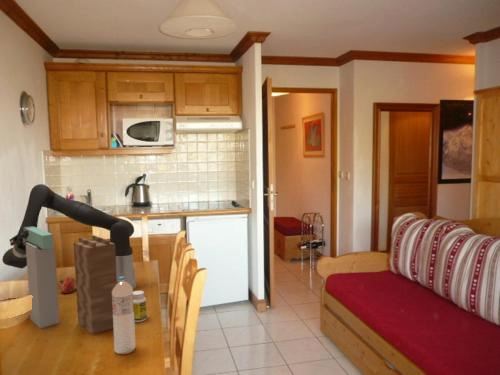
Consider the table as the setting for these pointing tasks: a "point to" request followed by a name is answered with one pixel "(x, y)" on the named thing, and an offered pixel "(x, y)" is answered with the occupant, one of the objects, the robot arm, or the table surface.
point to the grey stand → (42, 285)
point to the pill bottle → (139, 306)
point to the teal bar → (39, 237)
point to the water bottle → (123, 317)
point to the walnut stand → (95, 283)
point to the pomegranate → (67, 285)
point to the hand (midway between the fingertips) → (33, 231)
